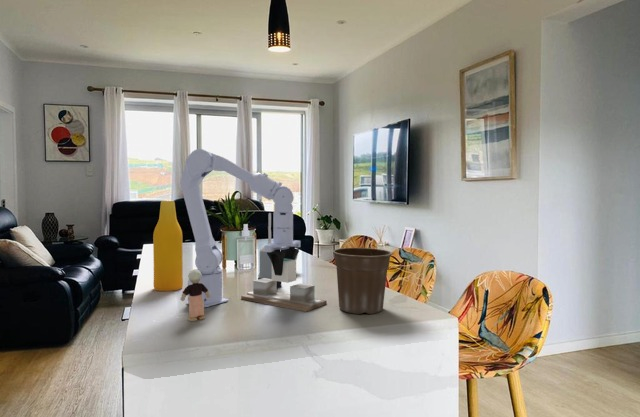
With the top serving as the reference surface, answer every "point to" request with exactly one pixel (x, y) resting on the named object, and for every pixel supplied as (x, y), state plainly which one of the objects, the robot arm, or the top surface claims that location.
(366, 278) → the plant pot
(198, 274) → the grandmother figurine
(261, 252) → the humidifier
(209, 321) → the top surface
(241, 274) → the top surface
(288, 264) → the block
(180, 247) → the beer bottle
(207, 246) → the robot arm
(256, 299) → the board
